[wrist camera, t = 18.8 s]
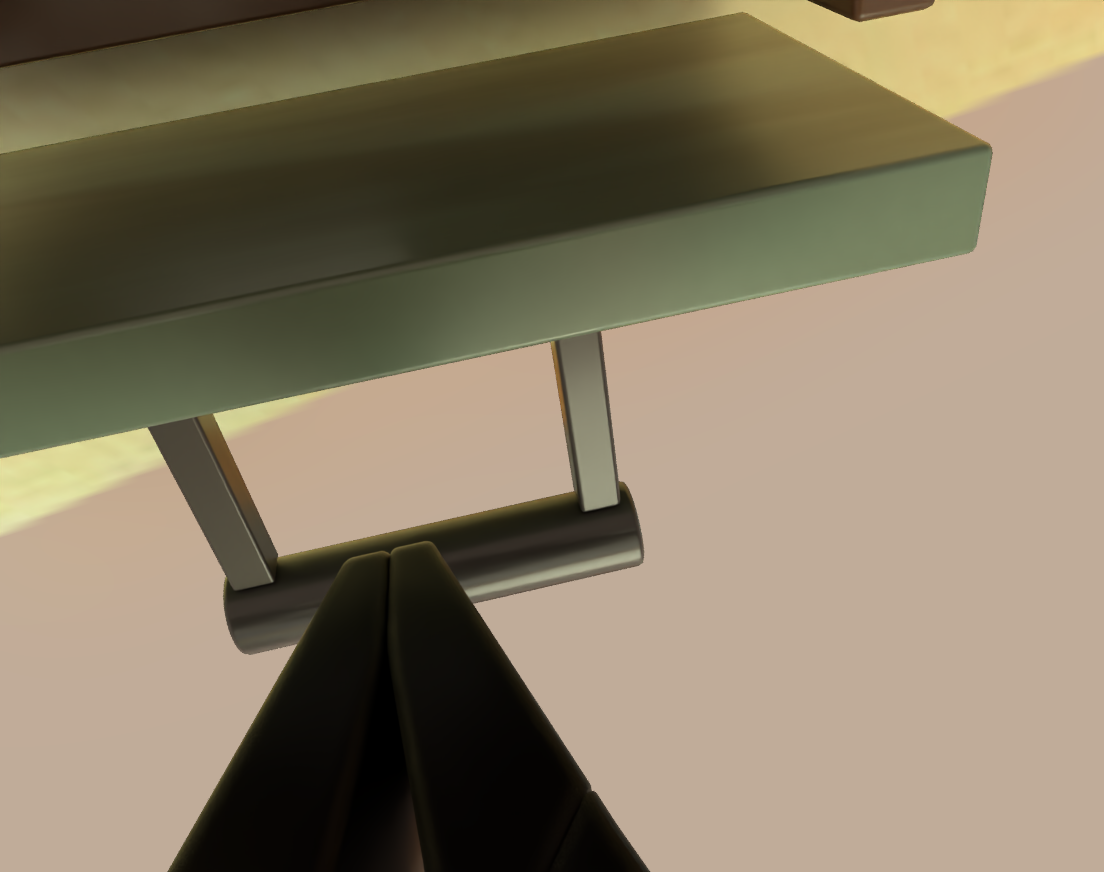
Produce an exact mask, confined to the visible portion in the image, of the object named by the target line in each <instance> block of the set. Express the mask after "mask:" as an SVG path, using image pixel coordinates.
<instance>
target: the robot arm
mask: <svg viewBox="0 0 1104 872" xmlns="http://www.w3.org/2000/svg"><path fill="white" fill-rule="evenodd" d="M168 872H650V871H649V870H648V868H647V867H646V865H645V864H644V862H643V861H642V860H641V858H640V857H639V855H638V854H637V852H636V851H635V850H634V848H633V847H632V846H631V844H630V842H629V841H628V840H627V838H626V837H625V836H624V834H623V832H622V831H621V830H620V828H619V827H618V825H617V824H616V823H615V821H614V819H613V818H612V816H611V815H610V813H609V812H608V810H607V809H606V807H605V805H604V804H603V802H602V801H601V799H600V798H599V796H598V795H597V793H596V792H594V791H592V790H591V785H590V783H589V782H588V780H587V778H586V777H585V775H584V774H583V772H582V771H581V769H580V768H579V766H578V765H577V763H576V762H575V760H574V758H573V757H572V756H571V754H570V752H569V751H568V750H567V748H566V746H565V745H564V743H563V742H562V740H561V739H560V737H559V735H558V734H557V732H556V731H555V729H554V728H553V726H552V725H551V723H550V722H549V720H548V718H547V717H546V715H545V714H544V712H543V711H542V709H541V708H540V706H539V705H538V703H537V702H536V700H535V699H534V697H533V695H532V694H531V692H530V691H529V689H528V688H527V686H526V685H525V683H524V682H523V680H522V679H521V677H520V675H519V674H518V672H517V671H516V669H515V668H514V666H513V665H512V663H511V662H510V660H509V659H508V657H507V655H506V654H505V652H504V651H503V649H502V648H501V646H500V645H499V644H498V642H497V640H496V639H495V637H494V636H493V634H492V633H491V631H490V629H489V628H488V626H487V625H486V623H485V622H484V620H483V619H482V617H481V615H480V614H479V613H478V611H477V609H476V608H475V606H474V605H473V603H472V602H471V600H470V599H469V597H468V595H467V594H466V592H465V591H464V589H463V588H462V586H461V585H460V583H459V582H458V580H457V579H456V577H455V576H454V574H453V572H452V571H451V569H450V568H449V566H448V565H447V563H446V562H445V560H444V559H443V557H442V556H441V554H440V552H439V551H438V549H437V548H436V546H435V545H434V544H433V543H432V542H429V541H424V542H419V543H415V544H410V545H406V546H401V547H397V548H395V549H394V550H393V551H392V552H391V554H389V553H388V552H385V551H379V552H375V553H370V554H366V555H361V556H357V557H352V558H350V559H348V560H347V561H346V562H345V563H344V564H343V566H342V567H341V569H340V571H339V573H338V574H337V576H336V578H335V580H334V581H333V583H332V585H331V587H330V588H329V590H328V592H327V594H326V595H325V597H324V599H323V601H322V602H321V604H320V606H319V608H318V609H317V611H316V613H315V614H314V616H313V618H312V620H311V622H310V623H309V625H308V627H307V629H306V630H305V632H304V634H303V636H302V637H301V639H300V641H299V642H298V644H297V646H296V648H295V650H294V651H293V653H292V655H291V657H290V659H289V660H288V662H287V664H286V666H285V667H284V669H283V671H282V672H281V674H280V676H279V677H278V679H277V681H276V683H275V684H274V686H273V688H272V690H271V691H270V693H269V695H268V697H267V699H266V700H265V702H264V704H263V706H262V707H261V709H260V711H259V713H258V714H257V716H256V718H255V720H254V721H253V723H252V725H251V727H250V729H249V730H248V732H247V733H246V735H245V737H244V739H243V741H242V742H241V744H240V746H239V747H238V749H237V751H236V753H235V754H234V756H233V758H232V760H231V762H230V763H229V765H228V767H227V769H226V770H225V772H224V774H223V776H222V777H221V779H220V781H219V783H218V784H217V786H216V788H215V789H214V791H213V793H212V795H211V796H210V798H209V800H208V802H207V803H206V805H205V807H204V809H203V811H202V812H201V814H200V816H199V817H198V820H197V821H196V823H195V824H194V826H193V828H192V830H191V831H190V833H189V835H188V837H187V838H186V841H185V842H184V844H183V846H182V847H181V849H180V851H179V853H178V854H177V856H176V858H175V859H174V861H173V863H172V865H171V866H170V868H169V870H168Z"/></svg>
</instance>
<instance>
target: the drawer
mask: <svg viewBox="0 0 1104 872" xmlns="http://www.w3.org/2000/svg"><path fill="white" fill-rule="evenodd" d="M362 1H368V0H0V69H1V68H6V67H12V66H17V65H22V64H28V63H33V62H39V61H44V60H49V59H55V58H60V57H65V56H71V55H76V54H82V53H87V52H92V51H98V50H103V49H109V48H114V47H119V46H125V45H130V44H136V43H141V42H146V41H152V40H157V39H163V38H168V37H173V36H179V35H184V34H190V33H195V32H200V31H206V30H211V29H217V28H222V27H227V26H233V25H238V24H244V23H249V22H254V21H260V20H265V19H271V18H276V17H281V16H287V15H292V14H298V13H303V12H308V11H314V10H319V9H325V8H330V7H335V6H341V5H346V4H352V3H357V2H362ZM808 1H810V2H813V3H815V4H817V5H819V6H822V7H824V8H826V9H829V10H831V11H833V12H836V13H838V14H840V15H842V16H845V17H847V18H849V19H852V20H855V21H858V22H862V21H867V20H872V19H877V18H882V17H888V16H893V15H898V14H903V13H908V12H913V11H919V10H923V9H926V8H928V7H930V6H931V5H933V3H934V0H808ZM991 159H992V147H991V146H990V144H989V143H987V142H985V141H983V140H981V139H979V138H978V137H976V136H974V135H972V134H970V133H968V132H966V131H964V130H963V129H961V128H959V127H957V126H955V125H953V124H951V123H950V122H948V121H946V120H944V119H942V118H940V117H939V116H937V115H935V114H933V113H931V112H929V111H927V110H926V109H924V108H922V107H920V106H918V105H916V104H914V103H913V102H911V101H909V100H907V99H905V98H903V97H901V96H900V95H898V94H896V93H894V92H892V91H890V90H888V89H887V88H885V87H883V86H881V85H879V84H877V83H875V82H874V81H872V80H870V79H868V78H866V77H864V76H862V75H861V74H859V73H857V72H855V71H853V70H851V69H849V68H847V67H846V66H844V65H842V64H840V63H838V62H836V61H834V60H833V59H831V58H829V57H827V56H825V55H823V54H821V53H820V52H818V51H816V50H814V49H812V48H810V47H808V46H807V45H805V44H803V43H801V42H799V41H797V40H795V39H794V38H792V37H790V36H788V35H786V34H784V33H782V32H781V31H779V30H777V29H775V28H773V27H771V26H769V25H768V24H766V23H764V22H762V21H760V20H758V19H756V18H755V17H753V16H751V15H749V14H747V13H744V12H741V13H736V14H731V15H726V16H720V17H715V18H710V19H705V20H699V21H694V22H689V23H684V24H678V25H673V26H668V27H663V28H658V29H652V30H647V31H642V32H637V33H631V34H626V35H621V36H616V37H610V38H605V39H600V40H595V41H590V42H584V43H579V44H574V45H569V46H563V47H558V48H553V49H548V50H542V51H537V52H532V53H527V54H522V55H516V56H511V57H506V58H501V59H495V60H490V61H485V62H480V63H474V64H469V65H464V66H459V67H453V68H448V69H443V70H438V71H433V72H427V73H422V74H417V75H412V76H406V77H401V78H396V79H391V80H385V81H380V82H375V83H370V84H365V85H359V86H354V87H349V88H344V89H338V90H333V91H328V92H323V93H317V94H312V95H307V96H302V97H297V98H291V99H286V100H281V101H276V102H270V103H265V104H260V105H255V106H249V107H244V108H239V109H234V110H228V111H223V112H218V113H213V114H208V115H202V116H197V117H192V118H187V119H181V120H176V121H171V122H166V123H160V124H155V125H150V126H145V127H140V128H134V129H129V130H124V131H119V132H113V133H108V134H103V135H98V136H92V137H87V138H82V139H77V140H72V141H66V142H61V143H56V144H51V145H45V146H40V147H35V148H30V149H24V150H19V151H14V152H9V153H3V154H0V458H5V457H9V456H14V455H19V454H23V453H28V452H33V451H38V450H42V449H47V448H52V447H56V446H61V445H66V444H71V443H75V442H80V441H85V440H89V439H94V438H99V437H104V436H108V435H113V434H118V433H123V432H127V431H132V430H137V429H141V428H146V427H148V429H149V431H150V433H151V435H152V436H153V438H154V440H155V442H156V444H157V446H158V448H159V450H160V452H161V454H162V455H163V457H164V459H165V461H166V463H167V465H168V467H169V469H170V471H171V472H172V474H173V476H174V478H175V480H176V482H177V484H178V486H179V488H180V489H181V491H182V493H183V495H184V497H185V499H186V501H187V502H188V505H189V507H190V508H191V510H192V512H193V514H194V516H195V518H196V520H197V522H198V524H199V525H200V527H201V529H202V531H203V533H204V535H205V537H206V538H207V540H208V542H209V544H210V546H211V548H212V550H213V552H214V554H215V556H216V558H217V560H218V562H219V563H220V565H221V567H222V569H223V571H224V573H225V575H226V578H225V582H224V595H223V597H224V598H223V600H224V611H225V616H226V621H227V625H228V629H229V631H230V634H231V637H232V639H233V641H234V643H235V645H236V646H237V648H238V649H239V650H240V651H241V652H242V653H244V654H249V655H251V654H256V653H260V652H264V651H269V650H273V649H278V648H282V647H286V646H290V645H295V644H298V642H299V641H300V639H301V637H302V636H303V634H304V632H305V630H306V629H307V627H308V625H309V623H310V622H311V620H312V618H313V616H314V614H315V613H316V611H317V609H318V608H319V606H320V604H321V602H322V601H323V599H324V597H325V595H326V594H327V592H328V590H329V588H330V587H331V585H332V583H333V581H334V580H335V578H336V576H337V574H338V573H339V571H340V569H341V567H342V566H343V564H344V563H345V562H346V561H347V560H348V559H350V558H352V557H357V556H361V555H366V554H370V553H375V552H379V551H385V552H388V553H389V554H391V552H392V551H393V550H394V549H395V548H397V547H401V546H406V545H410V544H415V543H419V542H424V541H429V542H432V543H433V544H434V545H435V546H436V548H437V549H438V551H439V552H440V554H441V556H442V557H443V559H444V560H445V562H446V563H447V565H448V566H449V568H450V569H451V571H452V572H453V574H454V576H455V577H456V579H457V580H458V582H459V583H460V585H461V586H462V588H463V589H464V591H465V592H466V594H467V595H468V597H469V599H470V600H471V602H472V603H478V602H483V601H487V600H491V599H496V598H500V597H504V596H509V595H513V594H517V593H522V592H526V591H531V590H535V589H539V588H544V587H548V586H552V585H556V584H561V583H565V582H570V581H574V580H579V579H583V578H587V577H591V576H596V575H600V574H605V573H609V572H613V571H618V570H622V569H627V568H631V567H635V566H639V565H640V564H642V563H643V558H644V547H643V539H642V533H641V529H640V524H639V519H638V516H637V512H636V508H635V505H634V501H633V498H632V496H631V494H630V491H629V489H628V487H627V486H626V484H625V483H624V482H620V481H618V473H617V464H616V456H615V447H614V438H613V430H612V422H611V413H610V404H609V396H608V387H607V379H606V370H605V362H604V353H603V345H602V336H601V331H603V330H609V329H613V328H618V327H623V326H627V325H632V324H637V323H642V322H646V321H650V320H656V319H660V318H665V317H669V316H674V315H679V314H684V313H689V312H694V311H698V310H702V309H708V308H712V307H717V306H722V305H727V304H731V303H736V302H740V301H745V300H750V299H755V298H760V297H764V296H769V295H773V294H778V293H783V292H788V291H792V290H797V289H802V288H807V287H811V286H816V285H821V284H826V283H830V282H835V281H840V280H845V279H849V278H854V277H859V276H863V275H868V274H873V273H877V272H882V271H887V270H891V269H896V268H901V267H906V266H910V265H915V264H920V263H924V262H929V261H934V260H939V259H944V258H948V257H953V256H958V255H962V254H967V253H970V252H972V251H973V250H974V249H975V247H976V244H977V238H978V233H979V227H980V221H981V216H982V210H983V205H984V199H985V193H986V188H987V182H988V176H989V171H990V165H991ZM547 342H550V343H551V349H552V355H553V361H554V368H555V374H556V380H557V386H558V393H559V399H560V405H561V411H562V418H563V424H564V430H565V436H566V443H567V449H568V455H569V461H570V468H571V473H572V480H573V487H574V491H573V492H569V493H564V494H560V495H555V496H551V497H546V498H542V499H537V500H533V501H529V502H524V503H520V504H515V505H511V506H506V507H502V508H497V509H493V510H488V511H484V512H479V513H475V514H470V515H466V516H461V517H457V518H452V519H448V520H443V521H439V522H434V523H430V524H426V525H421V526H416V527H412V528H408V529H403V530H398V531H394V532H390V533H385V534H380V535H376V536H371V537H367V538H363V539H359V540H353V541H349V542H345V543H340V544H336V545H331V546H327V547H323V548H318V549H313V550H309V551H304V552H300V553H295V554H291V555H286V556H282V557H278V553H277V552H276V549H275V547H274V545H273V543H272V541H271V538H270V536H269V534H268V532H267V530H266V528H265V526H264V524H263V521H262V519H261V517H260V515H259V513H258V511H257V508H256V506H255V504H254V502H253V500H252V498H251V495H250V493H249V491H248V489H247V487H246V485H245V483H244V480H243V478H242V476H241V474H240V472H239V470H238V468H237V465H236V463H235V461H234V459H233V457H232V455H231V453H230V450H229V448H228V446H227V444H226V442H225V439H224V437H223V435H222V433H221V431H220V429H219V427H218V424H217V422H216V420H215V418H214V416H213V414H212V413H217V412H222V411H226V410H231V409H236V408H240V407H245V406H250V405H255V404H259V403H264V402H269V401H274V400H278V399H283V398H288V397H292V396H297V395H302V394H307V393H311V392H316V391H321V390H325V389H330V388H335V387H340V386H344V385H349V384H354V383H358V382H363V381H368V380H373V379H377V378H382V377H386V376H392V375H396V374H401V373H405V372H410V371H415V370H420V369H424V368H429V367H434V366H439V365H443V364H447V363H453V362H457V361H462V360H466V359H472V358H476V357H481V356H486V355H491V354H495V353H500V352H505V351H509V350H514V349H518V348H524V347H528V346H533V345H538V344H543V343H547Z"/></svg>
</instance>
